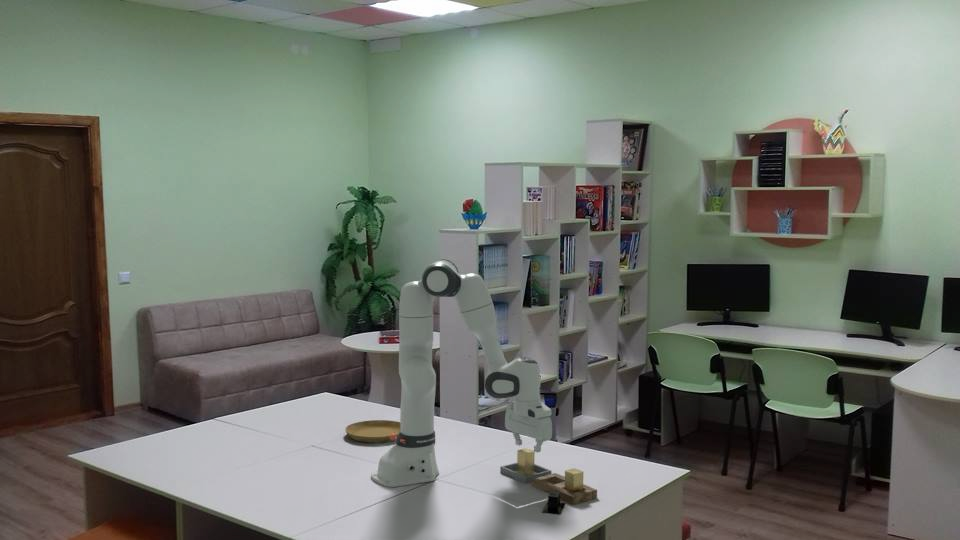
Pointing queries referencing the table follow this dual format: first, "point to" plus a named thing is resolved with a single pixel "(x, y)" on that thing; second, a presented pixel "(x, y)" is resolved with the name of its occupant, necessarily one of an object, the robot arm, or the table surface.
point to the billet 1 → (525, 461)
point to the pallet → (563, 489)
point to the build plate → (554, 504)
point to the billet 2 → (574, 480)
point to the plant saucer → (373, 430)
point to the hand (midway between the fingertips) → (528, 448)
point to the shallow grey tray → (512, 472)
